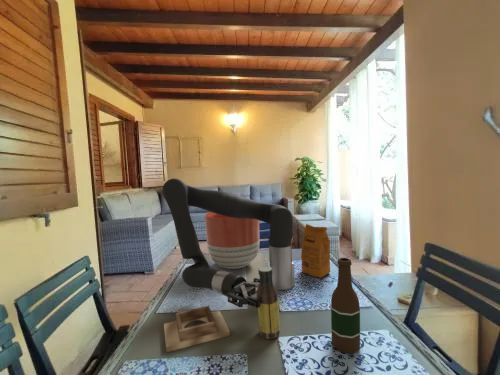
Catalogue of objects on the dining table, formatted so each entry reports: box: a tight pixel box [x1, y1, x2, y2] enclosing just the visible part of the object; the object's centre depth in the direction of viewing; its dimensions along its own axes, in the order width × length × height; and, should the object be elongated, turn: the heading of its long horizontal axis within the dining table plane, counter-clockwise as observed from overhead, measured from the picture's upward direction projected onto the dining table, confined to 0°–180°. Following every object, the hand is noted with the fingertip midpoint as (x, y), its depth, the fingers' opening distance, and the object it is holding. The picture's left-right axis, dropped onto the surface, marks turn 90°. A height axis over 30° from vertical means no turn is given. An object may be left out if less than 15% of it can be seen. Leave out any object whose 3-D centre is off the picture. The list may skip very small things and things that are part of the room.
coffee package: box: [300, 223, 331, 279], centre depth 122 cm, size 10×12×22 cm
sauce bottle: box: [256, 266, 281, 340], centre depth 79 cm, size 6×6×20 cm
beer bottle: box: [330, 257, 361, 355], centre depth 73 cm, size 8×8×24 cm
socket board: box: [163, 305, 231, 354], centre depth 82 cm, size 18×12×4 cm, turn 110°
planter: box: [204, 211, 260, 270], centre depth 134 cm, size 27×27×27 cm
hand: (268, 298), depth 79 cm, fingers open, 8 cm apart
